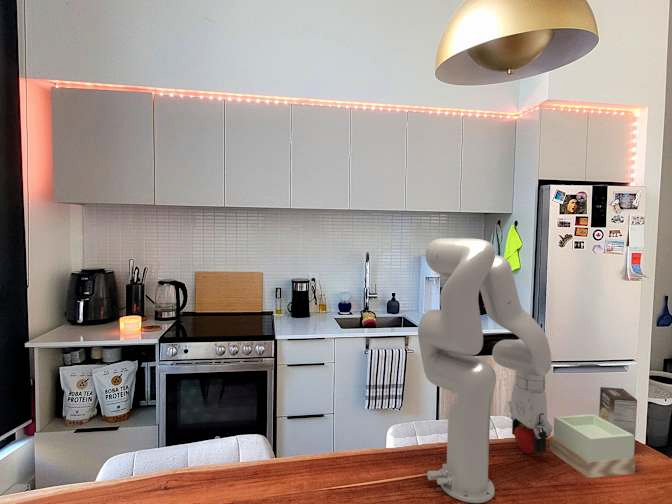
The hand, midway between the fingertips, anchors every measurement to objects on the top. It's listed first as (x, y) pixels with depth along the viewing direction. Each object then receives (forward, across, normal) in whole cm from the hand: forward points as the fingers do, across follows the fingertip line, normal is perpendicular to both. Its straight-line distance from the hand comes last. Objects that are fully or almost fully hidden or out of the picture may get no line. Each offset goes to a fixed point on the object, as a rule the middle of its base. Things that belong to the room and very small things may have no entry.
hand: (528, 442), depth 114 cm
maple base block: (+4, +6, +15) cm, 16 cm away
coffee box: (+4, 0, +29) cm, 29 cm away
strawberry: (+3, 0, 0) cm, 3 cm away
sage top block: (-1, +6, +15) cm, 16 cm away
